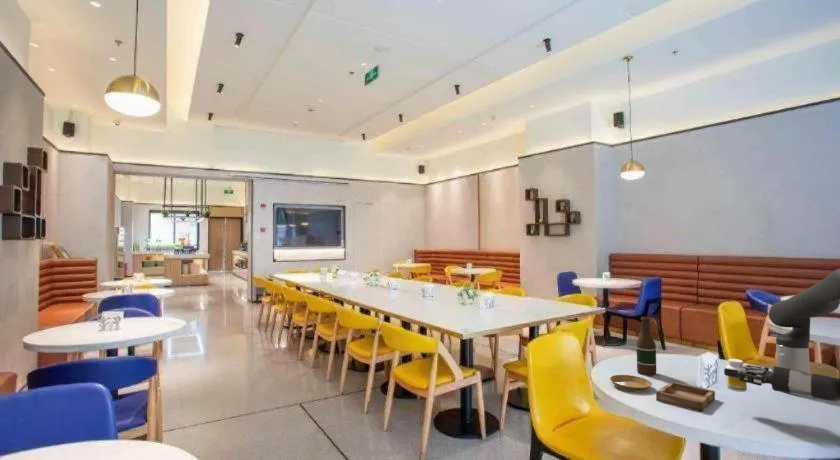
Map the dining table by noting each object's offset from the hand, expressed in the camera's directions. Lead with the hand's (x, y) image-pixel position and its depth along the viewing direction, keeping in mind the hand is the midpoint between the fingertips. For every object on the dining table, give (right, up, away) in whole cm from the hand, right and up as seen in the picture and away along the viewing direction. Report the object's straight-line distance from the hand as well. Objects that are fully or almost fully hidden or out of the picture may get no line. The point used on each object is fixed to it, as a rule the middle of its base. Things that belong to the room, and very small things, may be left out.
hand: (727, 369), depth 144 cm
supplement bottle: (+2, -6, -2) cm, 7 cm away
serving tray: (-9, -14, +8) cm, 18 cm away
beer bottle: (-7, -14, +38) cm, 42 cm away
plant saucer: (-22, -15, +22) cm, 34 cm away
